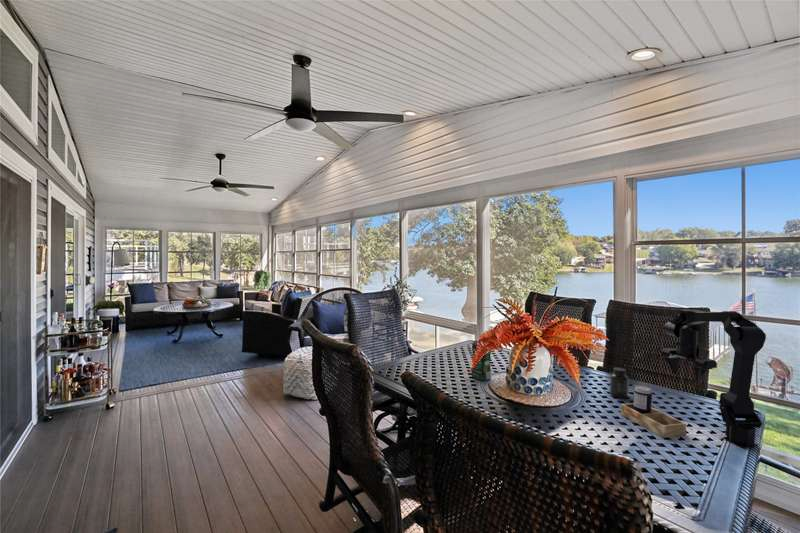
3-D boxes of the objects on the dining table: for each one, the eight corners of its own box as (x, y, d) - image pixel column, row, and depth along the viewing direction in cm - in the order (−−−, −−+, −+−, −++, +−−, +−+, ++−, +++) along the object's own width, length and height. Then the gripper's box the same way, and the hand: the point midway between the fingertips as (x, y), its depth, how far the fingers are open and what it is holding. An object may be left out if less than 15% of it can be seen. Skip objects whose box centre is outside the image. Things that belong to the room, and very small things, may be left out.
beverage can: (653, 422, 137) (654, 391, 136) (636, 421, 138) (638, 390, 137) (646, 416, 142) (647, 386, 142) (630, 414, 144) (631, 384, 143)
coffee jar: (468, 376, 186) (469, 340, 185) (480, 373, 190) (480, 338, 189) (481, 382, 177) (482, 344, 176) (493, 379, 181) (494, 342, 180)
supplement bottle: (608, 391, 167) (609, 365, 166) (625, 393, 164) (626, 367, 164) (611, 397, 160) (612, 370, 160) (629, 399, 158) (630, 372, 157)
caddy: (686, 434, 128) (687, 423, 128) (662, 437, 126) (663, 426, 126) (641, 412, 146) (642, 402, 146) (620, 414, 144) (620, 404, 144)
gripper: (729, 345, 139) (727, 385, 140) (681, 334, 157) (680, 369, 158) (706, 347, 137) (704, 388, 137) (660, 335, 155) (659, 371, 156)
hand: (686, 378), depth 147 cm, fingers open, 9 cm apart
